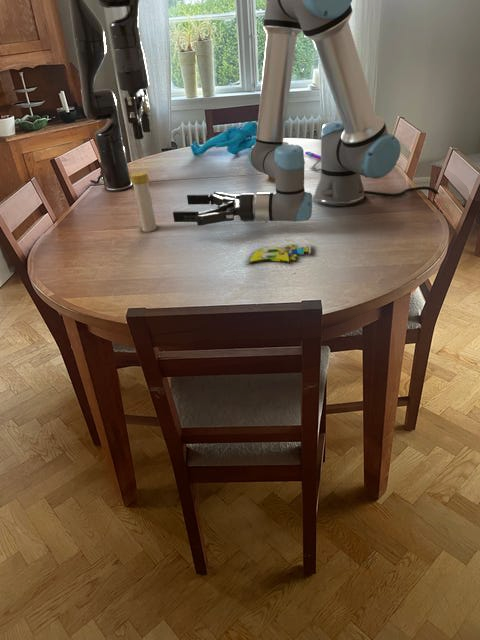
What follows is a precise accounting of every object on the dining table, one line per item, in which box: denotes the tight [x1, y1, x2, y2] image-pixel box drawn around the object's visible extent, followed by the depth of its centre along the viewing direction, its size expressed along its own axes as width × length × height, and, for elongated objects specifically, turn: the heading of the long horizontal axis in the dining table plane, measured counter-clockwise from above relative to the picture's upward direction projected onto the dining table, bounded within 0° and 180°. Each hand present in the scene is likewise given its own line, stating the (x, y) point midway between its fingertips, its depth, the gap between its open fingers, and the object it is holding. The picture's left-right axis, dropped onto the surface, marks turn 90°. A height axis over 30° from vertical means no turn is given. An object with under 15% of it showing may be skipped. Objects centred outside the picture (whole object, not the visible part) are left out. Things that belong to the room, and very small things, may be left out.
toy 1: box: [190, 121, 258, 157], centre depth 206 cm, size 17×11×30 cm
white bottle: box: [132, 181, 157, 233], centre depth 138 cm, size 4×4×16 cm
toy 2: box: [248, 244, 312, 265], centre depth 120 cm, size 10×1×15 cm
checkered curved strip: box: [304, 151, 321, 171], centre depth 185 cm, size 24×2×20 cm
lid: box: [129, 170, 150, 184], centre depth 134 cm, size 5×5×2 cm
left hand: (143, 135), depth 129 cm, fingers open, 8 cm apart
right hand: (181, 207), depth 136 cm, fingers open, 13 cm apart
